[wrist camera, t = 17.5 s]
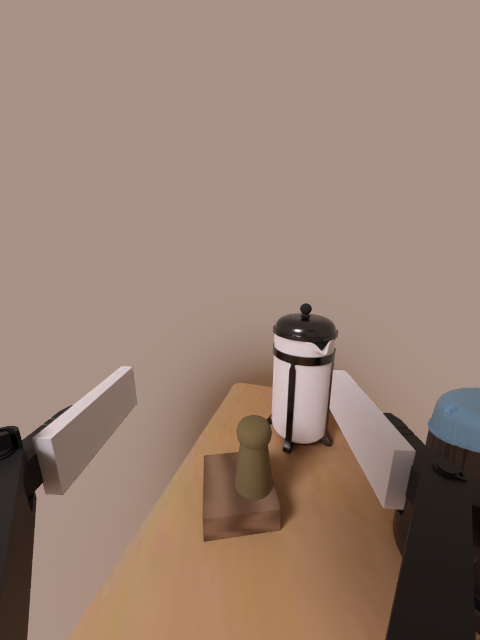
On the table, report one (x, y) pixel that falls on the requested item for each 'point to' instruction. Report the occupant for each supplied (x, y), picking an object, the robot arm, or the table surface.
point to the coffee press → (302, 377)
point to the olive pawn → (253, 458)
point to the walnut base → (234, 503)
